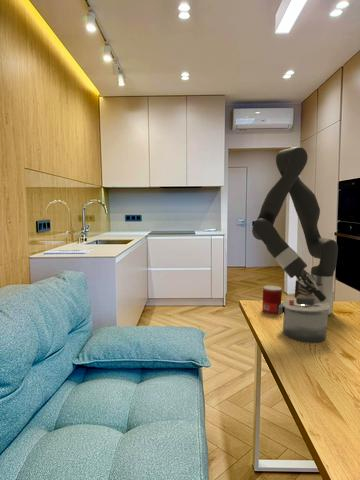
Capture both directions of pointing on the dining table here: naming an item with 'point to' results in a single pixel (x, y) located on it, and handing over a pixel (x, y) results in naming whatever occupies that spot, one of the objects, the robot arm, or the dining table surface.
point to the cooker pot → (304, 325)
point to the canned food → (271, 299)
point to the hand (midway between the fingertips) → (323, 299)
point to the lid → (305, 304)
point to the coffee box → (304, 291)
